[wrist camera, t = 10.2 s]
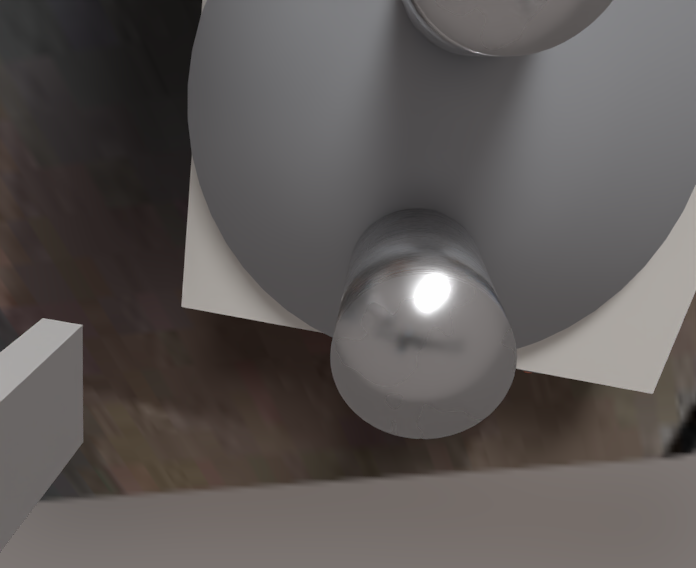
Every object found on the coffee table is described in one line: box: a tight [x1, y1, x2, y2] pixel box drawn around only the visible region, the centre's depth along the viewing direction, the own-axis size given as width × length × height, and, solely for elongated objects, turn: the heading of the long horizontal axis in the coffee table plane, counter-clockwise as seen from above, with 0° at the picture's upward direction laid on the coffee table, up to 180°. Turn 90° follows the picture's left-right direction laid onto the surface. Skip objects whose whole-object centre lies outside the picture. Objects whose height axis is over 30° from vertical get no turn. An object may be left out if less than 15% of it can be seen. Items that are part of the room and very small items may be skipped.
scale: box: [181, 0, 696, 394], centre depth 23 cm, size 20×18×6 cm
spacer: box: [330, 208, 517, 439], centre depth 19 cm, size 5×5×7 cm
